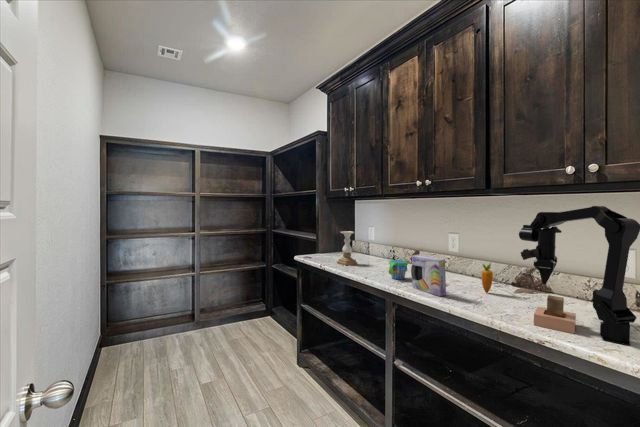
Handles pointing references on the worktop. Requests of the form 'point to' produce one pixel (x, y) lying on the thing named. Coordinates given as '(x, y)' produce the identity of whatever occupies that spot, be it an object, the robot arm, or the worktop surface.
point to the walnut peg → (555, 306)
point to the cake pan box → (429, 274)
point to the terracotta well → (555, 320)
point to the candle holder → (347, 250)
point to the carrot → (487, 277)
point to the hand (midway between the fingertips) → (545, 282)
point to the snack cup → (398, 269)
